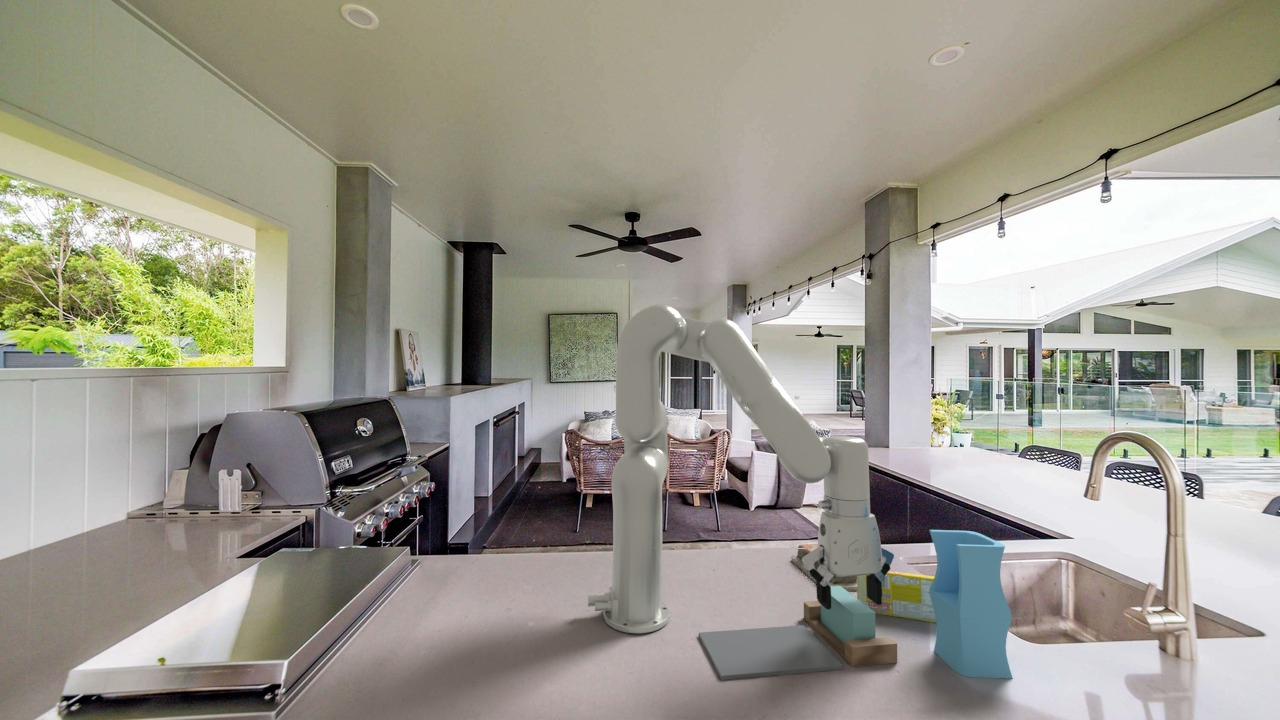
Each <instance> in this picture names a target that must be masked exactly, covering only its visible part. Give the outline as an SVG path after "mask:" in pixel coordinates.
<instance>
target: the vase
mask: <svg viewBox="0 0 1280 720" xmlns="http://www.w3.org/2000/svg"><path fill="white" fill-rule="evenodd" d="M929 534H930V537H931V540H932V542H933V545H934V551H935V554H936V562H937V563H936V572H935V575H934V576H935V577H934V580H933V582H932V584H931V587H930V589H929V590H930V598H931V601H932V604H933V608H934V612H935V617H936V623H935V624H936V638H935V643H934V648H933V651H934V652H935V653H936V655H938V656H939V657H940V658H941V659H942V660H943V661H944V662H945V663H946V664H947V665H948V666H949V667H950V668H951V669H952V670H953V671H954V672H955V673H957V674H959V675H961V676H963V677H967V678H984V679H985V678H986V679H987V678H988V679H1011V680H1012V679H1013V675H1012V672H1011V668H1010V665H1009V660H1008V656H1007V639H1008V632H1009V630H1010V629H1009V628H1010V626H1011V623H1012V619H1013V618H1012V611H1011V609H1010V607H1009V603H1008V601H1007V598H1006V597H1005V593H1004V590H1003V586H1002V582H1001V581H1002V580H1001V566H1002V561H1003V555H1004V551H1005V548H1006V545H1004V544H1003V543H1001V542H999V541H997V540H995V539H993V538H990V537H989V536H987V535H984V534H982V533H979V532H976V531H971V530H956V529H955V530H954V529H953V530H950V529H949V530H947V529H946V530H945V529H929Z"/></svg>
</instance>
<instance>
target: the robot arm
mask: <svg viewBox="0 0 1280 720" xmlns="http://www.w3.org/2000/svg"><path fill="white" fill-rule="evenodd" d="M617 341H618V342H617V345H616V357H615V358H616V359H615V363H616V364H615V365H616V366H615V367H616V368H615V369H616V370H615V371H616V373H615V416H614V417H615V418H614V419H615V426H616V430H617V431H618V434H620V436H621V438H623V446H624V447H623V450H624V451H623V452H624V454H623V455H622V456H620V457H619V459H618V460H617V462H616V464H615V465H614V468H613V470H612V475H611V494H612V495H611V496H612V510H613V511H612V513H613V514H612V515H613V516H612V518H613V519H612V522H613V523H612V524H613V525H612V536H613V537H612V582H611V583H612V585H611V586H609V589H608V590H609V591H607V592H604V594H588V595H587V606H588V607H594V611H595V612H600V611H603V620H604V622H605V623H606V624H607V625H608V626H609V627H611V629H612V628H613V629H614V630H616V631H619V632H623V633H628V634H646V633H647V634H648V633H652V632H655V631H658V630H660V629H662V628H664V626H666V625H667V624H668V623H669V620H670V609H669V607H668V606H667V605H666V603H665V602H664V601H663V600H662V592H663V591H662V589H663V588H662V587H663V583H662V581H663V577H662V576H663V484H664V482H665V480H666V478H667V474H668V470H669V469H668V468H669V453H668V452H669V451H668V448H669V447H668V443H669V442H668V441H669V439H668V415H667V409H666V407H665V405H664V404H663V402H662V401H661V399H660V368H659V367H660V366H659V363H660V362H659V359H660V355H661V353H666V354H670V355H675V356H679V357H683V358H689V359H692V360H696V361H701V362H706V363H709V364H710V366H711V367H712V368H713V370H714V372H715V373H716V374H717V376H718V378H719V379H720V381H721V382H722V383H723V385H724V386H725V388H726V389H727V391H728V392H729V394H731V396H732V398H733V399H734V401H735V402H736V403H737V405H738V406H739V407H740V409H741V411H742V412H743V414H744V415H746V416H747V417H748V418H749V419H750V420H751V421H752V423H753V424H754V425H755V426H756V427H757V429H758V430H759V432H760V433H761V434H762V435H763V437H764V438H765V439H766V441H767V442H768V444H769V445H770V446H771V448H772V450H773V451H774V452H775V454H776V455H777V456H778V459H779V462H780V463H781V465H782V467H784V468H785V470H786V471H787V472H788V474H789V475H790V476H791V477H792V478H793V479H795V480H797V481H798V482H800V483H803V484H815V483H819V482H821V481H823V500H819V501H818V502H817V505H818V507H819V509H823V510H824V511H821V514H820V518H819V524H818V525H819V526H818V533H817V534H818V535H817V544H818V548H816V549H815V550H813V551H812V552H810V553H809V554H807V555H805V556H804V557H803V558H802V562H803V564H804V566H805V568H806V569H807V572H808V573H809V574H810V575H811V576H812V577H813V578H814V579H815V580H816V582H815V584H816V599H817V600H816V601H818V602H819V603H820V604H821V605H822V606H824V607H825V608H826V609H827V610H828V609H831V587H830V586H829V585H828V583H829V581H830V580H831V578H832V577H833V575H834V576H856V575H867V577H866V582H867V597H868V598H869V599H870V600H872V601H873V602H875V603H876V604H878V605H881V604H882V582H883V581H884V580H885V575H886V574H887V572H888V571H891V565H892V562H893V560H894V559H895V554H894V553H893V552H891V551H890V550H889V551H888V550H887V549H885V548H883V547H882V544H881V537H880V536H881V535H880V531H879V527H878V522H877V518H876V516H875V514H873V513H871V498H870V497H871V493H870V491H871V490H870V468H869V466H870V461H869V460H870V458H869V446H868V442H866V440H864V439H863V438H861V437H858V436H857V437H856V436H849V435H845V436H844V435H836V436H835V435H834V436H829V437H826V436H819V435H818V434H817V433H816V431H815V430H814V428H813V427H812V425H811V424H810V422H809V421H808V420H807V419H806V417H805V416H804V414H803V413H802V412H801V411H800V409H799V408H798V407H797V405H796V404H795V403H794V401H793V400H792V399H791V398H790V396H789V395H788V393H787V392H786V390H785V388H784V387H783V386H782V385H781V384H780V382H779V380H777V377H775V376H774V373H772V371H771V370H770V369H769V367H768V366H767V365H766V363H765V361H764V360H763V358H761V356H760V355H759V353H758V352H757V350H756V349H755V347H754V345H752V343H751V342H750V340H749V339H748V337H747V336H746V334H745V333H744V332H743V331H742V329H741V328H740V327H739V326H738V325H737V324H736V323H735V322H734V321H732V320H731V319H727V318H717V319H715V320H714V319H713V320H711V321H704V320H699V319H695V318H690V317H688V316H682V315H681V313H680V312H679V311H678V310H677V309H675V308H674V307H672V306H670V305H668V304H662V303H660V304H659V303H658V304H653V305H649V306H646V307H645V308H643V309H641V310H639V311H638V312H637V313H635V314H633V316H632V317H631V318H630V319H628V321H627V322H626V324H625V325H624V327H623V328H622V331H621V333H620V334H619V337H618V340H617ZM817 560H818V562H819V565H820V566H819V567H818V569H817V570H816V569H815V567H814V563H815V562H816V561H817ZM826 570H827V571H826ZM824 573H825V574H824ZM868 574H870V575H868Z"/></svg>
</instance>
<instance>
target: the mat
mask: <svg viewBox="0 0 1280 720" xmlns="http://www.w3.org/2000/svg"><path fill="white" fill-rule="evenodd" d="M698 637H699V640H700V641H701V643H702V645H703V647H704V649H705V651H706V653H707V655H708V657H709V658H710V659H709V660H711V663H712V664H713V667H714V669H715V670H716V672H717V674H718V677H719V679H720V680H721V681H724V680H726V681H727V680H736V679H737V680H738V679H748V678H758V677H770V676H779V675H783V676H784V675H792V674H802V673H803V674H804V673H815V672H825V671H835V670H837V671H838V670H843V664H841V662H840V661H839V660H838V659H837V658H836V657H835V656H834V655H833V654H832V653H831V652H830V650H828V649H827V648H826V647H825V646H824V645H823V643H822V642H820V640H819V639H817V637H816V636H815V635H814V634H813V633H812V632H811V631H810V630H809V629H808V628H807V627H806V626H805V625H804V624H799V625H787V626H786V625H785V626H775V627H774V626H773V627H761V628H748V629H747V628H745V629H732V630H718V631H704V632H698Z"/></svg>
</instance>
